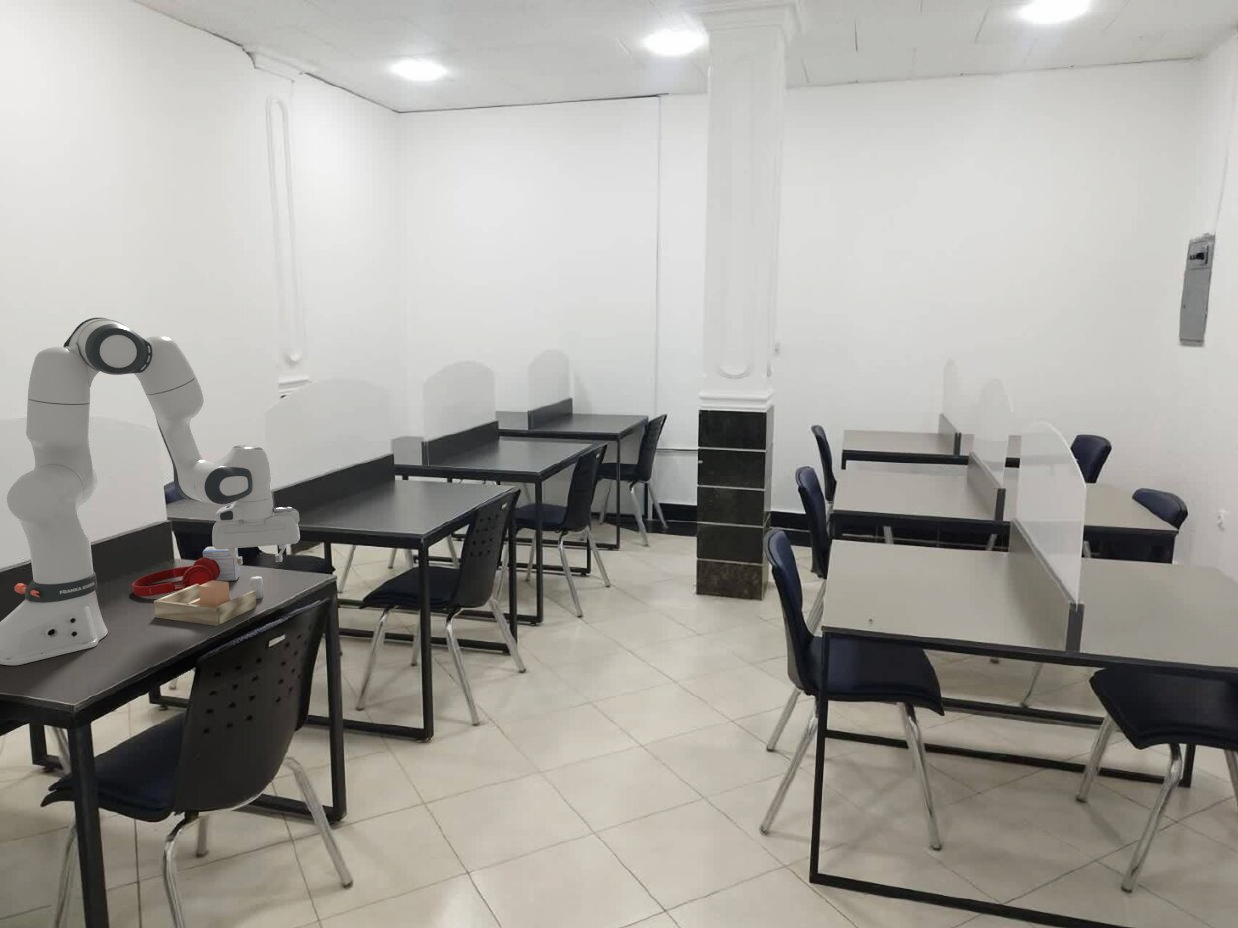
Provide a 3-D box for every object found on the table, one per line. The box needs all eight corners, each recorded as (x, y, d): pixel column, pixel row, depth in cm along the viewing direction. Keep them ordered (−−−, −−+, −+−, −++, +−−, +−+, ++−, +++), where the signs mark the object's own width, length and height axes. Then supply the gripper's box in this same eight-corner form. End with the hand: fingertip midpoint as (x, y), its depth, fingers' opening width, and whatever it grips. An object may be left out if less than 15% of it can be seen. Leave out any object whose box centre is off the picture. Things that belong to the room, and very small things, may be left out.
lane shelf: (216, 625, 200) (215, 609, 200) (155, 617, 205) (153, 600, 204) (256, 606, 213) (255, 591, 212) (197, 599, 218) (196, 583, 217)
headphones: (225, 576, 234) (147, 590, 231) (220, 551, 233) (140, 565, 230) (211, 594, 220) (127, 609, 217) (205, 568, 219) (120, 582, 215)
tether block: (217, 620, 204) (214, 587, 202) (201, 618, 205) (198, 585, 203) (268, 596, 221) (266, 565, 219) (253, 594, 222) (251, 564, 221)
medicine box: (240, 575, 236) (237, 545, 235) (236, 580, 232) (234, 549, 231) (208, 577, 235) (206, 546, 233) (204, 582, 231) (202, 551, 229)
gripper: (299, 503, 222) (304, 555, 224) (213, 509, 217) (218, 562, 219) (297, 509, 216) (301, 562, 218) (207, 515, 211) (213, 569, 213)
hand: (259, 562), depth 219 cm, fingers open, 8 cm apart
